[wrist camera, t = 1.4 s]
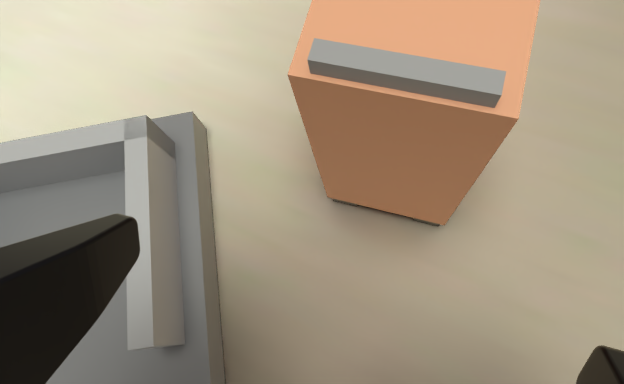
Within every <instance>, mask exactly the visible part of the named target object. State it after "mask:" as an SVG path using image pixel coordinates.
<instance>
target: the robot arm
mask: <svg viewBox="0 0 624 384" xmlns="http://www.w3.org/2000/svg"><path fill="white" fill-rule="evenodd" d="M139 254H140V241H139V231H138V223H137V221H136V219H135V218H133V217H131V216H127V215H123V214H119V213H116V214H112V215H108V216H105V217H102V218H98V219H95V220H91V221H88V222H85V223H81V224H78V225H75V226H71V227H68V228H64V229H61V230H58V231H54V232H51V233H47V234H44V235H41V236H37V237H34V238H30V239H27V240H24V241H20V242H17V243H13V244H10V245H7V246H3V247H0V384H46V383H47V381H48V380H49V379H50V378H51V376H52V375H53V374H54V373H55V372H56V370H57V369H58V368H59V367H60V365H61V364H62V363H63V362H64V360H65V359H66V358H67V357H68V356H69V354H70V353H71V352H72V351H73V349H74V348H75V347H76V346H77V345H78V343H79V342H80V341H81V340H82V338H83V337H84V336H85V335H86V334H87V332H88V331H89V330H90V329H91V327H92V326H93V325H94V323H95V322H96V321H97V320H98V318H99V317H100V316H101V314H102V313H103V311H104V310H105V308H106V307H107V305H108V304H109V302H110V301H111V299H112V298H113V296H114V295H115V293H116V292H117V290H118V289H119V287H120V286H121V284H122V283H123V281H124V280H125V278H126V277H127V275H128V273H129V272H130V270H131V269H132V267H133V266H134V264H135V263H136V261H137V259H138V257H139ZM576 384H624V351H621V350H618V349H614V348H610V347H607V346H598V347H596V348H595V349H594V350H593V352H592V354H591V355H590V357H589V359H588V360H587V362H586V364H585V365H584V367H583V369H582V370H581V372H580V374H579V375H578V378H577V382H576Z"/></svg>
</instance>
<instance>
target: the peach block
mask: <svg viewBox="0 0 624 384" xmlns="http://www.w3.org/2000/svg"><path fill="white" fill-rule="evenodd" d="M539 4H540V0H312V2H311V5H310V8H309V11H308V14H307V17H306V21H305V24H304V27H303V30H302V33H301V36H300V39H299V42H298V45H297V48H296V51H295V54H294V57H293V60H292V63H291V66H290V69H289V72H288V77H289V80H290V83H291V87H292V90H293V93H294V96H295V99H296V102H297V105H298V108H299V111H300V114H301V117H302V120H303V123H304V126H305V129H306V132H307V135H308V138H309V142H310V145H311V148H312V151H313V154H314V157H315V160H316V163H317V166H318V169H319V172H320V175H321V178H322V181H323V184H324V187H325V190H326V193H327V197H329V198H333V201H337V202H341V203H345V204H349V205H353V206H357V204H358V205H362V206H366V207H370V208H375V209H379V210H383V211H387V212H391V213H395V214H399V215H404V216H408V217H412V218H414V220H415V221H419V222H423V223H428V224H432V225H436V226H439V225H440V224H441V225H445V224H446V222H447V221H448V220H449V218H450V217H451V215H452V214H453V212H454V211H455V209H456V208H457V207H458V205H459V204H460V202H461V201H462V199H463V198H464V197H465V195H466V194H467V192H468V191H469V189H470V188H471V186H472V185H473V184H474V182H475V181H476V179H477V178H478V176H479V175H480V174H481V172H482V171H483V169H484V168H485V166H486V165H487V163H488V162H489V161H490V159H491V158H492V156H493V155H494V153H495V152H496V150H497V149H498V148H499V146H500V145H501V143H502V142H503V140H504V139H505V138H506V136H507V135H508V133H509V132H510V130H511V129H512V127H513V126H514V125H515V123H516V122H517V120H518V119H519V113H520V108H521V102H522V97H523V92H524V86H525V81H526V75H527V70H528V64H529V59H530V53H531V48H532V42H533V37H534V32H535V26H536V21H537V15H538V10H539Z"/></svg>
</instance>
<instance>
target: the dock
mask: <svg viewBox="0 0 624 384" xmlns="http://www.w3.org/2000/svg"><path fill="white" fill-rule="evenodd" d="M116 213H119V214H123V215H127V216H131V217H133V218H135V219H136V221H137V223H138V231H139V241H140V254H139V257H138V259H137V261H136V263H135V264H134V266H133V267H132V269H131V270H130V272H129V273H128V275H127V277H126V278H125V280H124V281H123V283H122V284H121V286H120V287H119V289H118V290H117V292H116V293H115V295H114V296H113V298H112V299H111V301H110V302H109V304H108V305H107V307H106V308H105V310H104V311H103V313H102V314H101V316H100V317H99V318H98V320H97V321H96V322H95V323H94V325H93V326H92V327H91V329H90V330H89V331H88V332H87V334H86V335H85V336H84V337H83V338H82V340H81V341H80V342H79V343H78V345H77V346H76V347H75V348H74V349H73V351H72V352H71V353H70V354H69V356H68V357H67V358H66V359H65V360H64V362H63V363H62V364H61V365H60V367H59V368H58V369H57V370H56V372H55V373H54V374H53V375H52V376H51V378H50V379H49V380H48V381H47V383H46V384H225V371H224V358H223V345H222V331H221V318H220V305H219V292H218V279H217V265H216V252H215V239H214V226H213V213H212V199H211V186H210V173H209V160H208V147H207V133H206V128H205V126H204V125H203V124H202V123H201V121H200V120H199V119H198V118H197V117H196V115H195V114H194V113H193V112H187V113H182V114H177V115H171V116H166V117H161V118H156V119H150V118H149V117H148V116H146V115H145V116H139V117H134V118H129V119H123V120H118V121H113V122H108V123H102V124H97V125H92V126H87V127H81V128H76V129H71V130H65V131H60V132H55V133H50V134H44V135H39V136H34V137H29V138H23V139H18V140H13V141H7V142H2V143H0V247H3V246H7V245H10V244H13V243H17V242H20V241H24V240H27V239H30V238H34V237H37V236H41V235H44V234H47V233H51V232H54V231H58V230H61V229H64V228H68V227H71V226H75V225H78V224H81V223H85V222H88V221H91V220H95V219H98V218H102V217H105V216H108V215H112V214H116Z"/></svg>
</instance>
